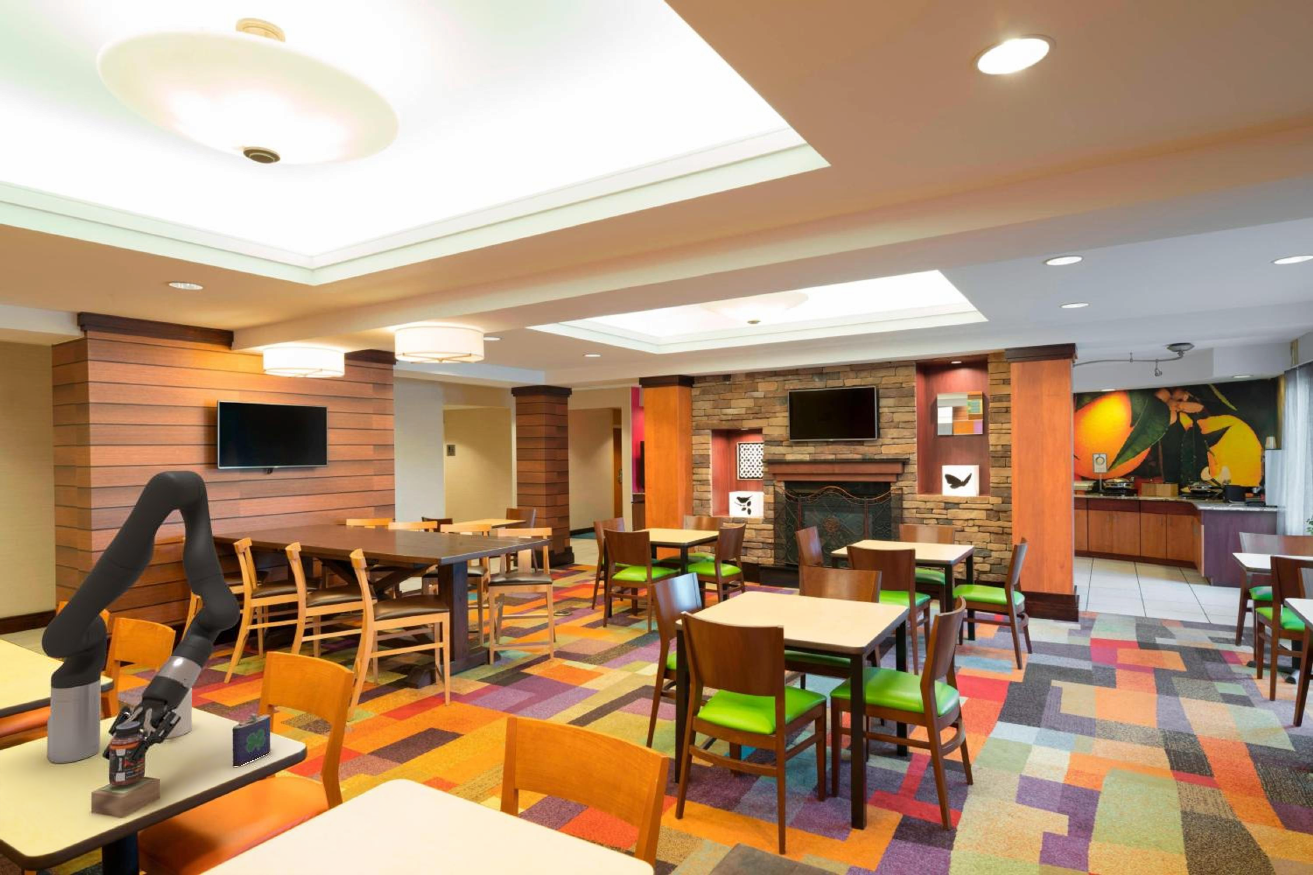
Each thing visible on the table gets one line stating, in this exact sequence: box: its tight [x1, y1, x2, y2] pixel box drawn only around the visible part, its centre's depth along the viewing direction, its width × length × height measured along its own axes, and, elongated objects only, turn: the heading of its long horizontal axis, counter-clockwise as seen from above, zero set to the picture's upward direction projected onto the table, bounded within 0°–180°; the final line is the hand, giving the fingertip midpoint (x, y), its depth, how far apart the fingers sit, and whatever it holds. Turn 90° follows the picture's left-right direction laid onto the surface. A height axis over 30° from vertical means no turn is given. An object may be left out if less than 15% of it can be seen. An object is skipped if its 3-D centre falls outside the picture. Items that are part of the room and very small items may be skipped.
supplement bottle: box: [108, 722, 146, 786], centre depth 145 cm, size 6×6×11 cm
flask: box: [231, 712, 271, 767], centre depth 166 cm, size 9×3×11 cm, turn 157°
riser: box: [90, 776, 161, 819], centre depth 145 cm, size 8×8×4 cm
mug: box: [159, 687, 193, 739], centre depth 179 cm, size 12×8×10 cm, turn 34°
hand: (119, 760), depth 143 cm, fingers closed on supplement bottle, 6 cm apart
